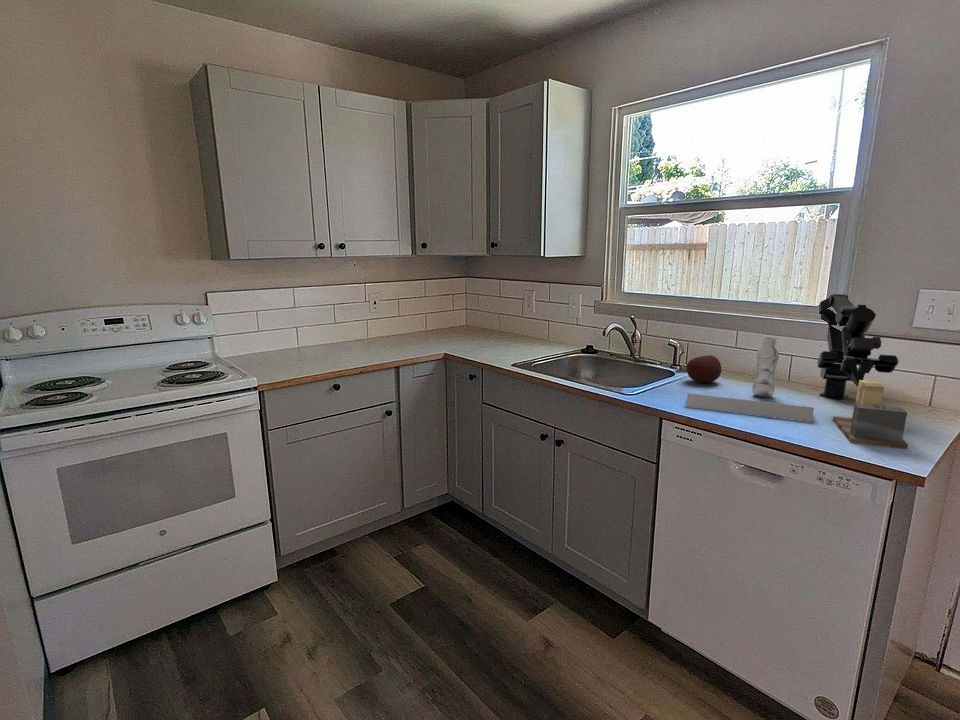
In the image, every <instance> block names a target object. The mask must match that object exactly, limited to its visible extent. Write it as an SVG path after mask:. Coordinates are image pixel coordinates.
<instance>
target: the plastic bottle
mask: <svg viewBox="0 0 960 720" xmlns="http://www.w3.org/2000/svg"><path fill="white" fill-rule="evenodd" d="M776 341H777V338H774V337H763V338H762V343H761V344H762V346H761V347H760V348H758V350H757V351H756V373H755V378H754V382H753V384H752V387H751V389H752V391H751V392H752V394H753V395H754V396H756V397H761V398H770V397H772V396H773V395H774V393H775V390H776V389H775V374H776V368H777V365H778V361H779V358H780V352H779V350H778V349H777V347H776V344H777V343H776Z"/></svg>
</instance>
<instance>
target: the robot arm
mask: <svg viewBox="0 0 960 720" xmlns="http://www.w3.org/2000/svg"><path fill="white" fill-rule="evenodd" d="M818 306H819V314H821V319H822V320H824V321H826V322H827V323H828V325H829V328H828V335H827V334H826V337H827V345H828V351H827V350H826V351H825V350H824V351H822V352H820V354H819V356H818V359H817V361H816V362H817V363H816V364H817V367H818V369H820V377H821V379H822V380H825V382H824V383H825V384H824V390H823V391H822V393H819V397H820V396H821V397H826V398H831V399H834V400H835V399H836V400H840V401H841V400H844V399H846V398H849V395H848V394H846V388H847V382H848V381H849V382H852V383H853V384H854V385H855V386H856V387H857V388H858V384H859V380H864V378H865V375H866V374H869V373H870V372H871V370H872V369H873V367H874V369H875V371H877V373H886V374H888V373H892V372H894V370H895V368H896V367H897V366H898V364H899V358H898V357H897V356H896V355H893V354H879V356H878V358H873V357H871V358H870V356H871V354H872V351H873V350H877V349H879V348H881V347H882V340H881V339H882V338H881V336H872V337H866V333H867V332H868V331H869V330H870V327H871V326H872V324H873V322H874V320H875V319H876V315H877V314H876V312H875V311H874V310H873V309H871V308H869V307H867V304H857V306H855V305H854V304H853V302H852V301H851V300H850V299H849V295H848V294H845V293H844V294H842V293H839V294H837V293H836V294H835V293H833V294H830V295H829V297H827V298H825V299H824V300H821V301H820V302H819V304H818ZM831 306H832V307H833V308H834V309H835V311H836V312H837V313H836V314H835V313H834V312H833V311H831V310H830V309H827V308H829V307H831ZM837 324H838V325H839V326H842V331H840V330H838V329H836V328H834V327H832V326H831V325H837Z"/></svg>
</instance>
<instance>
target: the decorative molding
mask: <svg viewBox="0 0 960 720" xmlns="http://www.w3.org/2000/svg"><path fill="white" fill-rule="evenodd" d="M685 407H686V408H693V409H700V408H701V409H700V410H708V409H710V410H709V411H716V410H721V411H720V412H724V411H730V412H729V413H732V412H737V413H736V414H740V413H744V414H743V415H748V414H752V415H751V416H756V415H760V416H759V417H764V416H768V417H767V418H772V417H776V418H775V419H780V418H785V419H784V420H788V419H794V420H793V421H796V420H801V421H800V422H804V421H808V422H807V423H813V422H814V421H813V419H814V412H815V411H814V410H815V407H812V406H804V405H794V404H786V403H777V402H768V401H762V400H761V401H760V400H752V399H751V400H750V399H740V398H732V397H723V396H715V395H705V394H698V393H690V392H688V393H687V396H686V406H685Z"/></svg>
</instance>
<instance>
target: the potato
mask: <svg viewBox="0 0 960 720" xmlns="http://www.w3.org/2000/svg"><path fill="white" fill-rule="evenodd" d="M686 373H687V375H688V377H689V378H690V379H691V380H693V381H695V382H697V383H700V384H710V383H713V382H715V381H717V380H718V379H719V377H720V376H721V374H722V363H721V362H720V360H719V359H718V358H717V357H716V356H715V355H711V354H710V355H700V356H696V357H695V358H692V359H690V360H689V361H688V362H687V364H686Z"/></svg>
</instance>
